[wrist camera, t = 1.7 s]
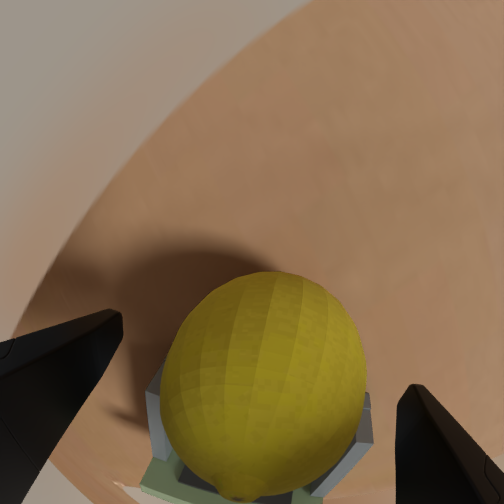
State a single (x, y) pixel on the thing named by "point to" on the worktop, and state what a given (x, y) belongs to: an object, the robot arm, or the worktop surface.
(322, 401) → the lemon
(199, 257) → the worktop surface
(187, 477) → the miniature couch
